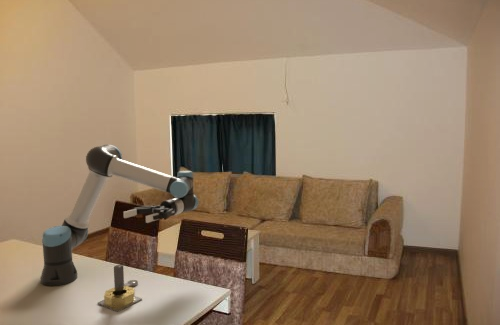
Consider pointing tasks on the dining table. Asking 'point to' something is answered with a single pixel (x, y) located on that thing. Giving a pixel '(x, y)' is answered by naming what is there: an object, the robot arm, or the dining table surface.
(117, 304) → the ring nut
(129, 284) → the grey bar with ball
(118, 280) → the steel pin
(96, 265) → the dining table surface
